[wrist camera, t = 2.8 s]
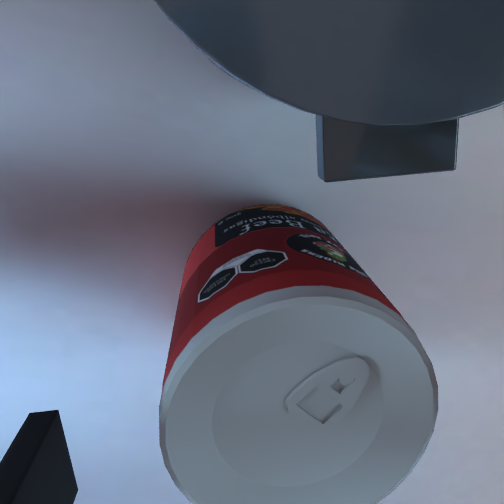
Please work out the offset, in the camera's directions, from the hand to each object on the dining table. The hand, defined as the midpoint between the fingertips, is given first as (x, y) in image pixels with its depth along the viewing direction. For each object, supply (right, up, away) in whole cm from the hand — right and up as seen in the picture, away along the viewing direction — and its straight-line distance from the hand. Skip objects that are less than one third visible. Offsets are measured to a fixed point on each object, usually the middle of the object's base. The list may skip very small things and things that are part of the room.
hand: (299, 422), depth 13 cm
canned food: (-1, +4, +10) cm, 11 cm away
